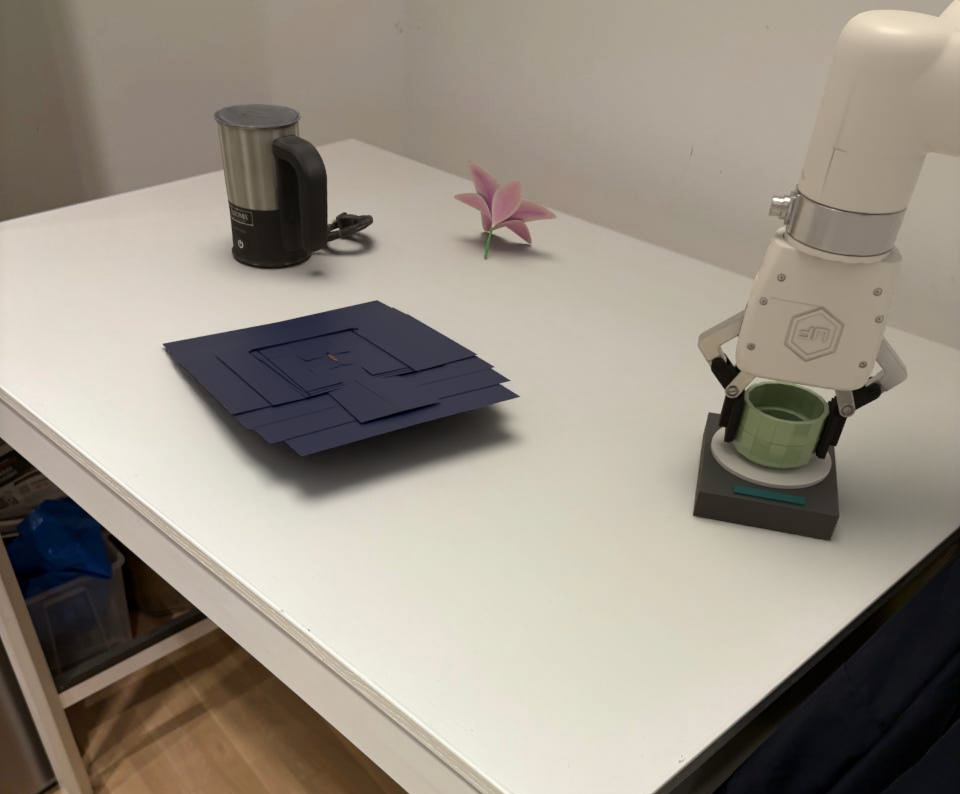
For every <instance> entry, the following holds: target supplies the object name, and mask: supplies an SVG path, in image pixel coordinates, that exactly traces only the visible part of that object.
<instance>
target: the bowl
mask: <svg viewBox="0 0 960 794" xmlns="http://www.w3.org/2000/svg"><path fill="white" fill-rule="evenodd" d="M828 416H829V404H828V401H827V400H826V399H825V398H824V397H823V396H822V395H821V394H819V393H817V392H816V391H815V390H812V389H810V388H808V387H804V386H803V385H800V384H794V383H788V382H782V381H776V380H771V381H770V380H768V381H760V382H757V383H753V384H750V386H749V387H746V388H745V397H744V405H743V408H742V412H741V415H740V419H739V422H738V426H737V429H736V433H735V436H734V440H733V442H732V443H733V445H734V446H735V448H736V450H737V451H738V452H739V453H741V454H742V455H743V456H744V457H746V458H747V459H748V460H750V461H752V462H754V463H756V464H758V465H761V466H764V467H768V468H774V469H788V468H793V467H799V466H802V465H805V464H808V463H809V462H810V461H811V459H812V458H813V457H814V455H815V452H816V450H817V447H818V444H819V441H820V438H821V435H822V433H823V430H824V427H825V424H826V422H827V419H828Z"/></svg>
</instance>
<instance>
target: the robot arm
mask: <svg viewBox="0 0 960 794" xmlns="http://www.w3.org/2000/svg"><path fill="white" fill-rule="evenodd" d="M929 153H936V154H942V155H946V156H950V157H953V158H957V159H960V0H953V1H952V2H951V3H950V4H949V5H948V6H947V7H946V8H945V9H944V10H943V12H941V14H940V15H938V16H935V15H931V14H927V13H922V12H917V11H909V10H899V9H872V10H866V11H863V12H860V13H858V14H856V15H855V16H853V17H851V18H850V20H849V21H848V22H847V23H846V24H845V25H844V27H843V28H842V30H841V33H840V34H839V37H838V40H837V43H836V45H835V49H834V52H833V55H832V59H831V64H830V66H829V70H828V73H827V77H826V82H825V85H824V89H823V91H822V96H821V99H820V102H819V106H818V109H817V114H816V117H815V121H814V124H813V128H812V132H811V135H810V139H809V143H808V146H807V149H806V154H805V157H804V161H803V164H802V169H801V171H800V175H799V179H798V183H796V186H795V188H794V190H791V191H790V194H784V195H783V196H782V195H773V196H772V198H771V203H770V207H769V209H768V210H769V211H768V216H769V217H776V218H777V217H778V220H782V221H783V225H785V226H781V227H779V228H778V229H776V231H775V233H774V235H773V237H772V239H771V240H770V242H769V244H768V247H767V249H766V251H765V253H764V256H763V259H762V261H761V263H760V266H759V268H758V270H757V273H756V276H755V278H754V281H753V284H752V287H751V289H750V293H749V296H748V299H747V302H746V305H745V308H744V309H743V310H741V311H739V312H737V313H735V314H734V315H732V316H730V317H728V318H727V319H725V320H723V321H721V322H719V323H717V324H715V325H714V326H712V327H710V328H708V329H706V330H705V331H703V332H701V333H700V334H699V336H698V341H697V347H698V350H699V351H700V353H701V355H702V356H703V358H704V360H705V362H706V363H707V364H708V366H709V367H710V371H711V373H712V374H713V375H714V377H715V378H716V379H717V381H718V383H719V384H720V385H721V387H722V389H724V394H725V396H724V400H723V403H722V407H721V409H720V410H721V411H720V413H719V414H720V418H719V424H718V426H720V427H725V435H724V442H727V443H730V442H733V440H734V436H735V433H736V429H737V426H738V422H739V419H740V415H741V412H742V408H743V405H744V397H745V390H746V389H747V388H748V386H749V385H751V383H752V382H753V381H754V380H755V379H756V378H760V379H765V380H769V381H770V380H771V381H781V382H787V383H793V384H797V385H799V386H807V387H812V388H819V389H825V390H831V391H834V392H835V395H834V396H833V397H831V398H830V400H828V401H827V403H828V404H829V416H828V419H827V422H826V424H825V427H824V430H823V433H822V435H821V438H820V441H819V444H818V447H817V450H816V456H818V458H819V459H825V457H826V454H827V452H828V449H829V446H834V447H837V446H838V444H839V441H840V438H841V435H842V433H843V430H844V427H845V424H846V422H847V421H848V420H847V419H848V418H850V417H852V416H853V415H854V414H855V413H856V411H857V410H859V409H860V408H862V407H865V406H866V405H868V404H870V403H872V402H873V401H875V400H878V399H879V398H880V397H881V395H882V394H883V393H885V392H889V391H890V390H892V389H894V388H895V387H897V386H898V385H900V384H902V383H903V382H905V380H907V379H908V376H909V375H908V374H909V373H908V369H907V365H906V364H905V363H904V362H903V360H902V358H901V357H900V356H899V355H898V353H897V352H896V350H894V348H893V347H892V345H891V344H890V342H889V341H888V340H887V339H886V337H885V336H884V335H885V332H886V330H887V325H888V322H889V319H890V315H891V311H892V308H893V305H894V300H895V296H896V292H897V288H898V284H899V279H900V273H901V268H902V267H901V266H902V260H903V256H902V254H901V252H900V250H899V248H898V247H897V246H896V245H895V244H896V241H897V237H898V235H899V233H900V229H901V226H902V224H903V221H904V219H905V215H906V214H907V213H906V212H907V209H908V207H909V204H910V202H911V199H912V196H913V195H914V190H915V188H916V185H917V182H918V180H919V177H920V174H921V172H922V169H923V166H924V163H925V160H926V157H927V154H929ZM735 338H737V343H736V348H735V363H733V362H732V361H731V360H730V358H729V357H728V355H727V354H726V353H725V352H724V351H723V348H722V345H724V344H726V343H727V342H729V341H732V340H734V339H735ZM876 363H877V364H878V365H879V366H880V368H881V370H880V371H878V372H877V373H876V374H875V375H874V376H871V374H872V373H873V370H874V367H875V364H876Z"/></svg>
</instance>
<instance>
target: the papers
mask: <svg viewBox="0 0 960 794" xmlns="http://www.w3.org/2000/svg"><path fill="white" fill-rule="evenodd" d="M162 345H163V347H164V348H165V349H166V351H168V353H169V355H170V356H171V357H172V358H173V359H174V360H175V361H176V362H177V363H178V364H179V365H180V366H182V367H183V368H184V369H185V370H186V371H187V372H188V373H189V374H190V375H192V377H193V378H195V380H196V381H197V382H198V383H200V384H201V385H202V386H203V387H204V389H206V390H207V391H208V392H209V393H210V394H211V395H212V396H213V397H214V398H215V399H216V400H217V401H218V402H219V403H220V404H221V405H222V406H223V407H224V408H225V409H226V410H227V411H228V412H229V414H230V415H232V417H234V418H235V419H236V420H237V421H238V422H239V423H240V424H241V425H243V427H245V429H246V430H252V429H253V430H254V431H255V432H256V433H257V434H258V435H260V437H261V438H262V439H264V440H265V441H266V442H267V443H269V444H270V445H271V444H275V443H278V442H281V441H283V442H284V443H286V444H287V445H288V446H289V447H290V448H291V449H292V450H293V451H294V452H296V453H297V454H298V455H299V456H300V457H304V456H308V455H311V454H315V453H318V452H322V451H326V450H329V449H333V448H337V447H340V446H343V445H347V444H351V443H354V442H358V441H361V440H365V439H369V438H373V437H376V436H379V435H384V434H387V433H390V432H394V431H397V430H401V429H404V428H409V427H411V426H415V425H418V424H423V423H426V422H430V421H434V420H438V419H442V418H446V417H449V416H453V415H456V414H461V413H464V412H468V411H471V410H476V409H479V408H484V407H487V406H491V405H495V404H498V403H502V402H507V401H509V400H513V399H514V400H515V399H518V398H521V396H520V394H517V393H515V391H512V390H511V389H508V387H506V386H504V385H502V384H504V383H508V382H511V381H512V380H510V379H509V378H507V377H506V376H505V375H503V374H501V373H500V372H498V371H497V370H495V369H494V368H495V366H494V365H492V364H491V363H489V362H487V361H485V359H482V358H481V357H479V356H477V355H478V354H477V353H476V352H474V351H472V350H471V349H469V348H467V347H465V346H464V345H462V344H460V343H458V342H457V341H455V340H454V339H451V338H450V337H448V336H446V335H445V334H443V333H441V332H440V331H438V330H436V329H435V328H433V327H431V326H429V325H427V324H425V323H424V322H422V321H421V320H419V319H417V318H416V317H414V316H412V315H410V314H409V313H405V312H404V311H401V310H400V309H398V308H395V307H391V306H389V305H388V304H386V303H384V302H382V301H380V300H378V299H376V300H375V299H374V300H371V301H366V302H361V303H358V304H353V305H347V306H344V307H339V308H335V309H330V310H326V311H321V312H317V313H311V314H308V315H304V316H299V317H294V318H290V319H285V320H281V321H275V322H271V323H264V324H260V325H255V326H249V327H244V328H237V329H234V330H233V329H232V330H229V331H228V330H227V331H223V332H216V333H212V334H206V335H201V336H197V337H195V336H194V337H190V338H186V339H185V338H184V339H180V340H175V341H169V342H163V343H162Z"/></svg>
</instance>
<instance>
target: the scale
mask: <svg viewBox="0 0 960 794" xmlns="http://www.w3.org/2000/svg"><path fill="white" fill-rule="evenodd" d="M720 414H721V413H716V412H711V411H710V412H708V413H707V418H706V422H705V425H704V430H703V433H702V439H701V440H702V441H701V449H700V455H699V463H698V464H699V465H698V472H697V479H696V485H695V487H696V488H695V494H694V495H695V496H694V502H693V503H694V504H693V511H692V515H693V516H696V517H701V518H706V519H707V518H708V519H713V520H718V521H722V522H729V523H734V524H739V525H745V526H751V527H756V528H760V529H761V528H762V529H765V530H772V531H777V532H783V533H789V534H793V535H794V534H795V535H800V536H806V537H809V538H810V537H811V538H815V539H821V540H827V541H831V539H832V537H833V533H834V531H835V528H836V527H837V524H838V521H839V519H840V506H839V505H840V504H839V491H838V477H837V463H836V446H829V449H828V452H827V454H826V457H825V459H819V458H818V456H816V452H815V455H814V457H813V458H812V459H811V461H810V462H809V463H808V464H805V465H802V466H799V467H793V468H788V469H774V468H768V467H764V466H761V465H758V464H756V463H754V462H752V461H750V460H748V459H747V458H746V457H744V456H743V455H742V454H741V453H739V452H738V451H737V450H736V448H735V446H734V445H733V443H732V442H730V443H727V442H724V435H725V427H720V426H718V424H719V418H720Z"/></svg>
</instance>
